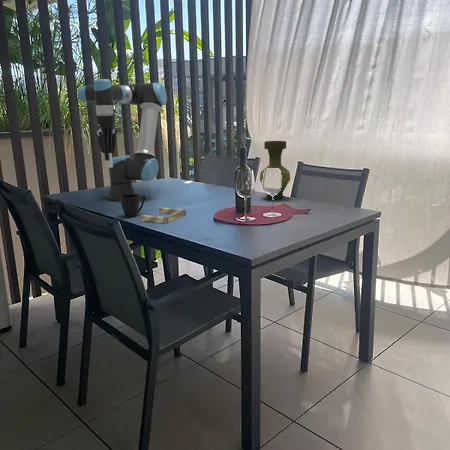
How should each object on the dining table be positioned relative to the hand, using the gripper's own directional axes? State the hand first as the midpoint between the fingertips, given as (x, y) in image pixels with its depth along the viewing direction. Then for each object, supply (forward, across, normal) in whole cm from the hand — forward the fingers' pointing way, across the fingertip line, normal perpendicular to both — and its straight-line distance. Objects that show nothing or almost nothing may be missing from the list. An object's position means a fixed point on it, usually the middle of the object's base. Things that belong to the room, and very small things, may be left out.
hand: (109, 167), depth 208 cm
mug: (+22, 0, -12) cm, 25 cm away
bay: (+22, 0, -27) cm, 35 cm away
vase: (+22, +55, -63) cm, 87 cm away
